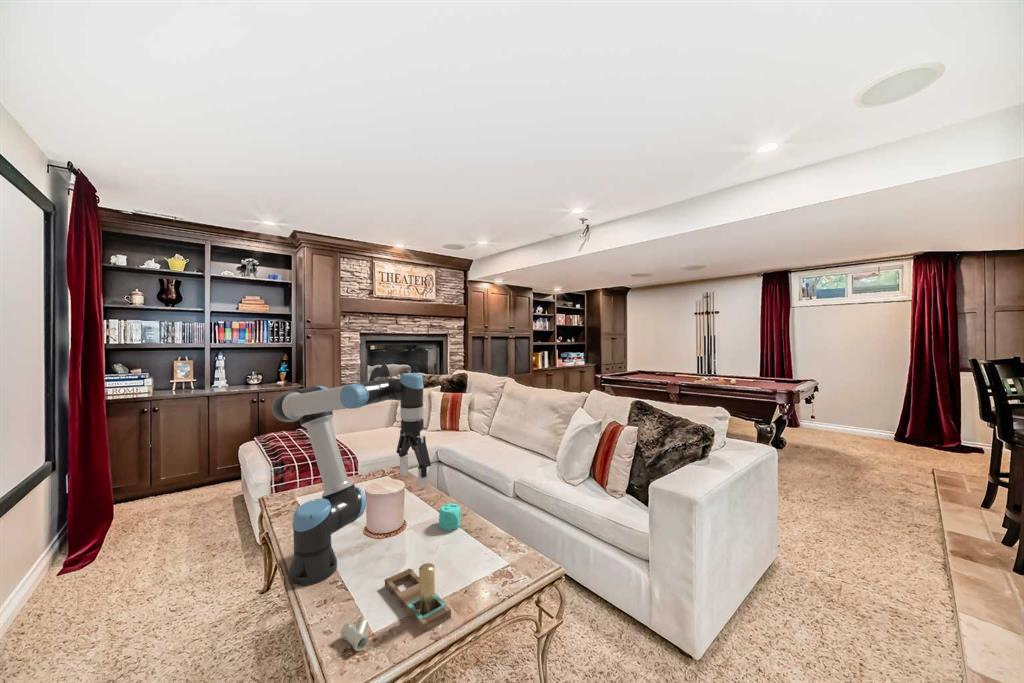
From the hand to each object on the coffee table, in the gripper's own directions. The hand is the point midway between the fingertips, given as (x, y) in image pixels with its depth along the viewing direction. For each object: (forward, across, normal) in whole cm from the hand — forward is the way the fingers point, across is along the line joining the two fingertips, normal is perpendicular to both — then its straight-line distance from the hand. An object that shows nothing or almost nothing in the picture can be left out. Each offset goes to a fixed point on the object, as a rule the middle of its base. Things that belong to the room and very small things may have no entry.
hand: (413, 480), depth 136 cm
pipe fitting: (+33, -16, +25) cm, 44 cm away
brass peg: (+33, -20, +6) cm, 39 cm away
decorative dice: (+33, +20, -27) cm, 47 cm away
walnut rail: (+33, -13, +6) cm, 36 cm away
